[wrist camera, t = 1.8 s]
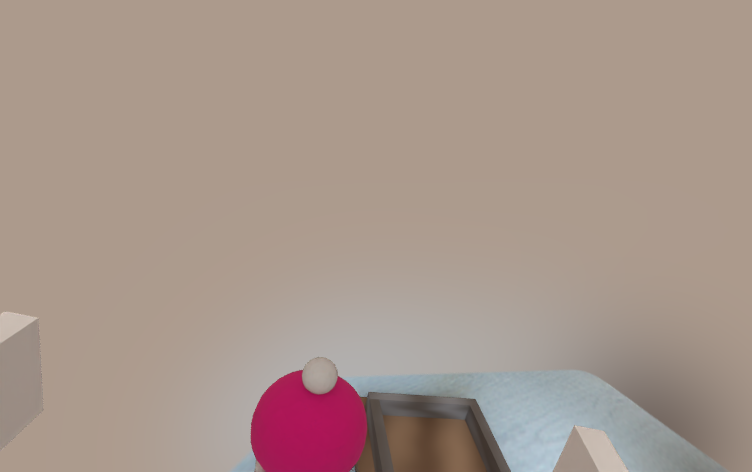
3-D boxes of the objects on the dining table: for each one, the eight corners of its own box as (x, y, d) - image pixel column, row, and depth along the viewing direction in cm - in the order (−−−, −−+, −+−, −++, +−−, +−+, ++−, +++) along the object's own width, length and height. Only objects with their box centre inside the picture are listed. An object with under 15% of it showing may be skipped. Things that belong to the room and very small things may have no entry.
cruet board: (475, 411, 51) (482, 390, 50) (537, 542, 37) (549, 517, 36) (348, 403, 48) (353, 381, 47) (363, 543, 34) (371, 516, 33)
